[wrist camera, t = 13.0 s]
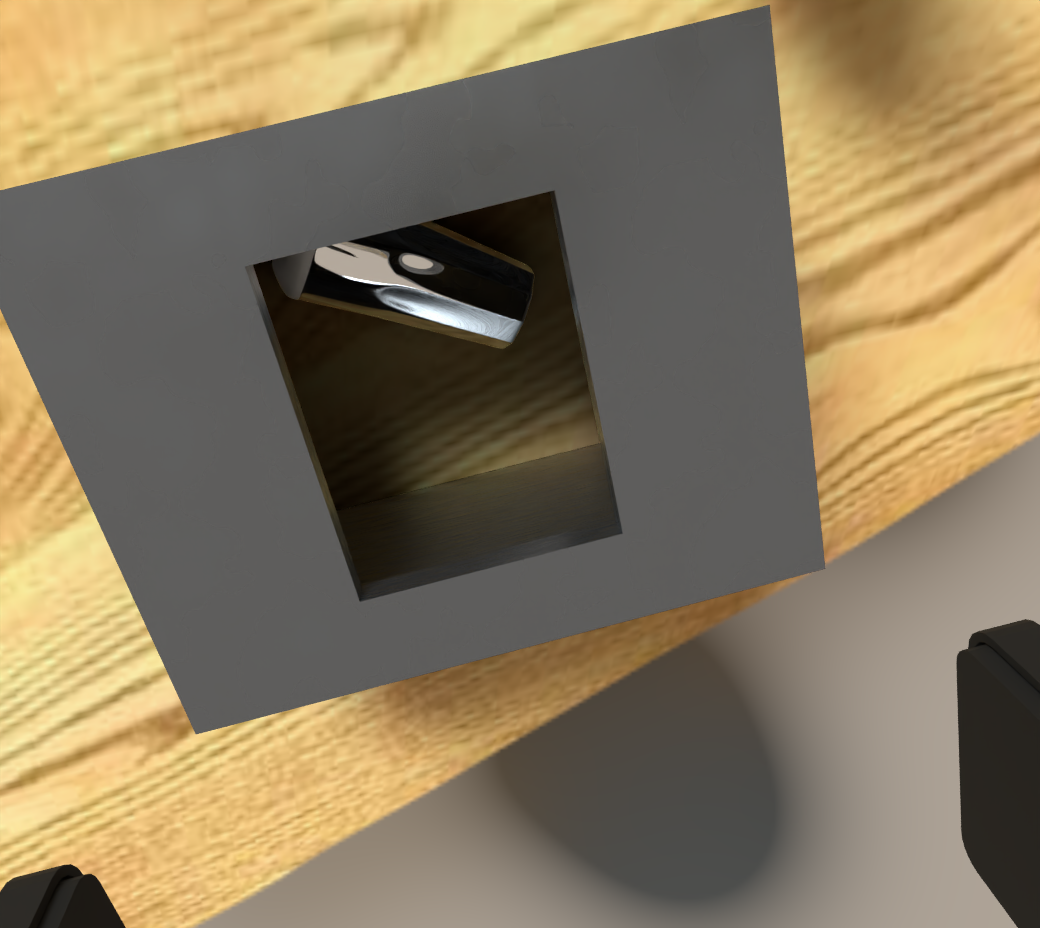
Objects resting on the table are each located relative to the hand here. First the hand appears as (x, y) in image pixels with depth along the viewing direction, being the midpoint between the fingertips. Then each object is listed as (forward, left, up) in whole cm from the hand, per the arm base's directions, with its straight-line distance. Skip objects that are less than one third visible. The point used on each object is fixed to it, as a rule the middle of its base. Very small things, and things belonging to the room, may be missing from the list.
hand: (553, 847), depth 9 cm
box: (0, 0, -28) cm, 28 cm away
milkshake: (-3, 0, -26) cm, 26 cm away
